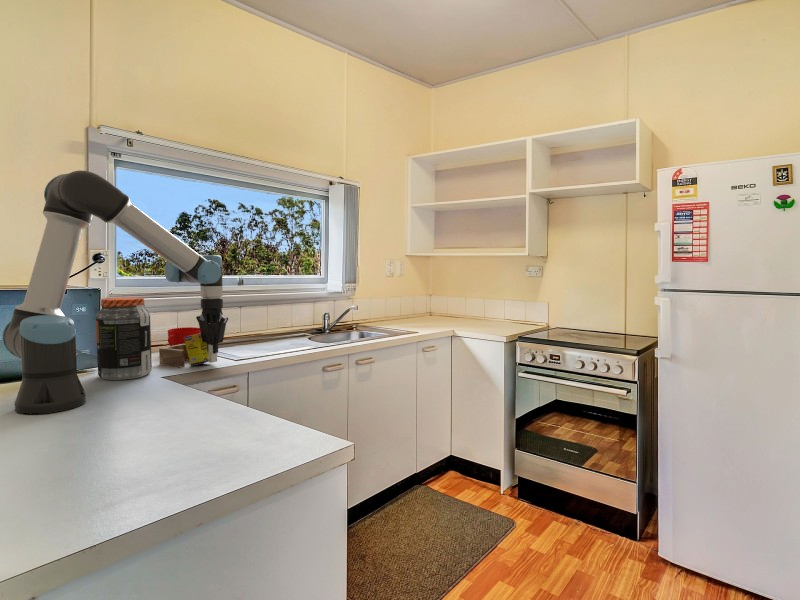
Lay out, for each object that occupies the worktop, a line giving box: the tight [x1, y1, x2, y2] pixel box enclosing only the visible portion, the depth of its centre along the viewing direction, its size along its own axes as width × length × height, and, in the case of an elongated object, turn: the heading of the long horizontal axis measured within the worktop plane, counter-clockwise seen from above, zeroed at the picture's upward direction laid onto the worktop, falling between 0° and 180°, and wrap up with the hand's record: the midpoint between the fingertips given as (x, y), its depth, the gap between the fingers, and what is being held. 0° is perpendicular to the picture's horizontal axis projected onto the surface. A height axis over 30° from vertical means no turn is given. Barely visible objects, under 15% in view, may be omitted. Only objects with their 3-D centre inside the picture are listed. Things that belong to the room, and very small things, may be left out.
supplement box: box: [184, 333, 210, 367], centre depth 179 cm, size 6×6×11 cm
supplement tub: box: [95, 297, 153, 381], centre depth 161 cm, size 16×16×26 cm
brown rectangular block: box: [158, 344, 189, 368], centre depth 183 cm, size 12×10×6 cm
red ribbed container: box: [167, 326, 201, 346], centre depth 199 cm, size 13×17×10 cm
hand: (212, 361), depth 177 cm, fingers closed
